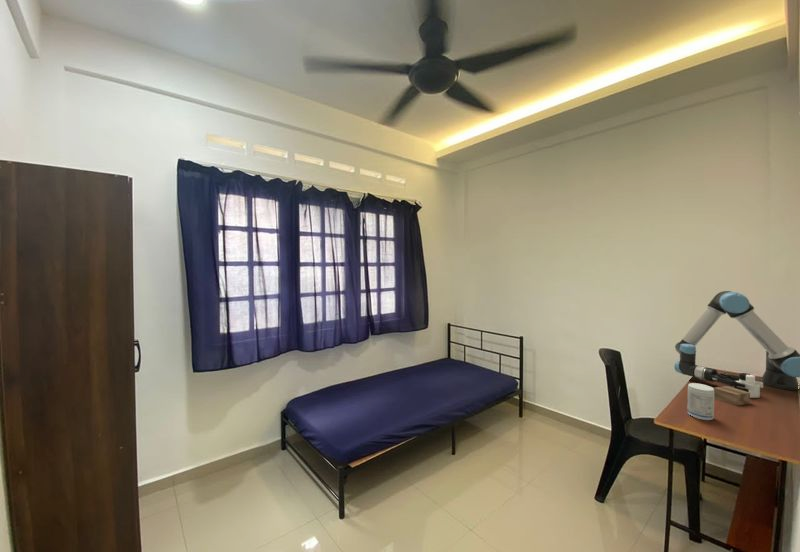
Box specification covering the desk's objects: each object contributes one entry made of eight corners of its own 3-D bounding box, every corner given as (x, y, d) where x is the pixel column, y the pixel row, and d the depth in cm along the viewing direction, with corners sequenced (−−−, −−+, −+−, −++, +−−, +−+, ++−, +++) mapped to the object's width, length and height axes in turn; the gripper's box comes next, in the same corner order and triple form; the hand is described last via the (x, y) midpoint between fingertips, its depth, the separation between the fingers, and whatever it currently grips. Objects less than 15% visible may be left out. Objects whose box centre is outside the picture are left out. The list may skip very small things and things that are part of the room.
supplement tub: (689, 410, 164) (690, 381, 164) (715, 416, 157) (716, 386, 156) (685, 415, 158) (685, 386, 158) (712, 423, 151) (712, 392, 150)
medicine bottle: (733, 393, 185) (734, 372, 184) (745, 392, 185) (745, 371, 185) (748, 398, 178) (748, 376, 177) (759, 397, 178) (760, 376, 178)
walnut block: (726, 396, 181) (727, 385, 181) (749, 404, 171) (750, 392, 171) (713, 398, 178) (713, 387, 178) (735, 406, 169) (736, 394, 168)
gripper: (716, 377, 202) (767, 390, 181) (696, 382, 194) (748, 396, 173) (716, 365, 202) (768, 377, 181) (696, 370, 193) (748, 382, 173)
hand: (758, 386), depth 177 cm, fingers closed on medicine bottle, 9 cm apart
